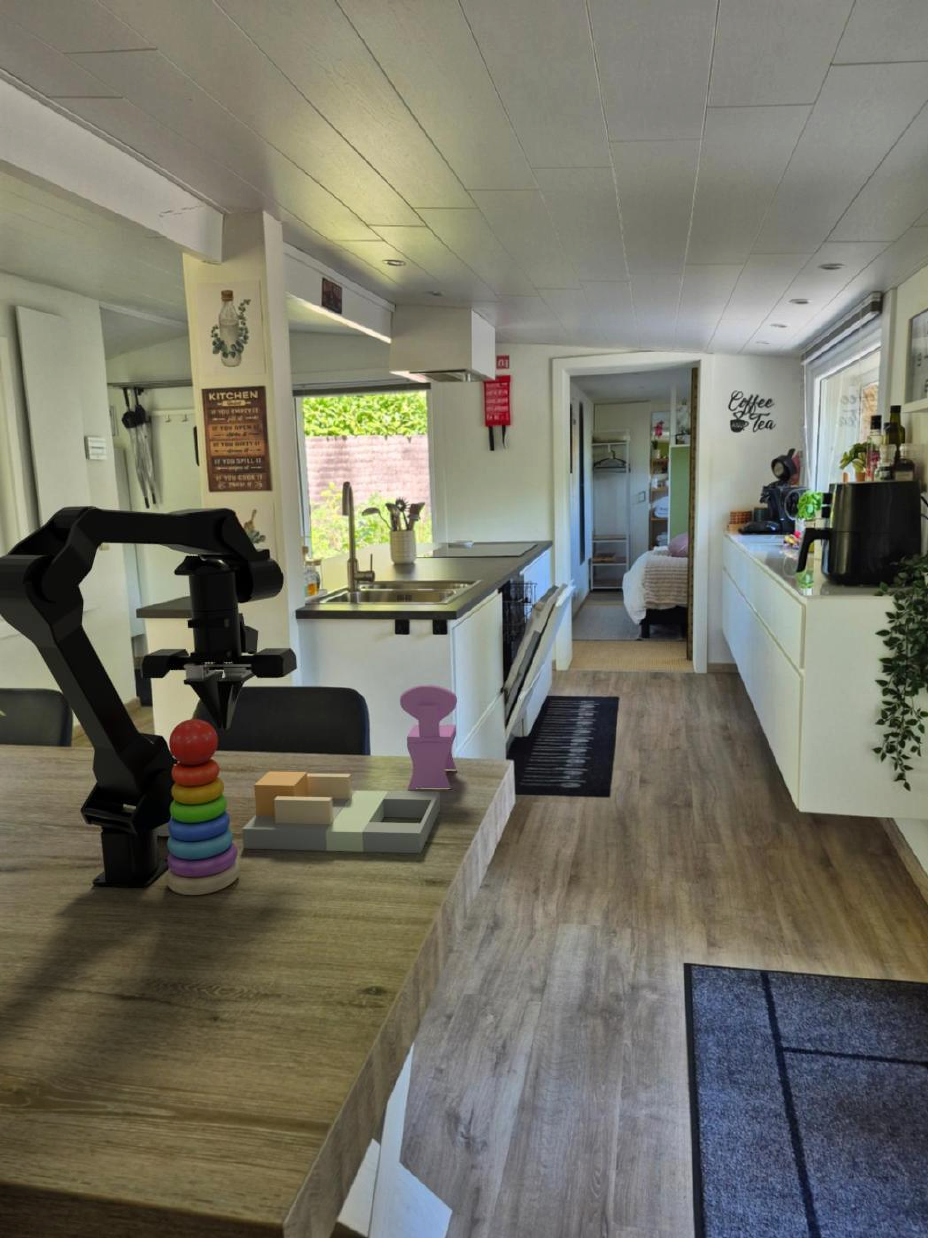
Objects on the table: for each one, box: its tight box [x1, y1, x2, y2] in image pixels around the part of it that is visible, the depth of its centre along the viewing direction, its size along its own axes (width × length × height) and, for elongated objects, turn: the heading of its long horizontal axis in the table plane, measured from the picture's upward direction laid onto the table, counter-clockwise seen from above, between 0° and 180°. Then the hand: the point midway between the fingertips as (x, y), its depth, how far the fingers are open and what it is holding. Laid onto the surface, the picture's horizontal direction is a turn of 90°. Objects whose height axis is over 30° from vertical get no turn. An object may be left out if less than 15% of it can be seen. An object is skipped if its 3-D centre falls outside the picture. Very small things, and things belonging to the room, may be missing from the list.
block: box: [253, 771, 308, 816], centre depth 111 cm, size 5×5×4 cm
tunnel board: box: [241, 772, 441, 854], centre depth 110 cm, size 14×22×6 cm, turn 82°
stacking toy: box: [165, 718, 241, 896], centre depth 95 cm, size 8×8×19 cm
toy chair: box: [399, 684, 458, 790], centre depth 127 cm, size 8×9×15 cm
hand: (224, 728), depth 111 cm, fingers closed
